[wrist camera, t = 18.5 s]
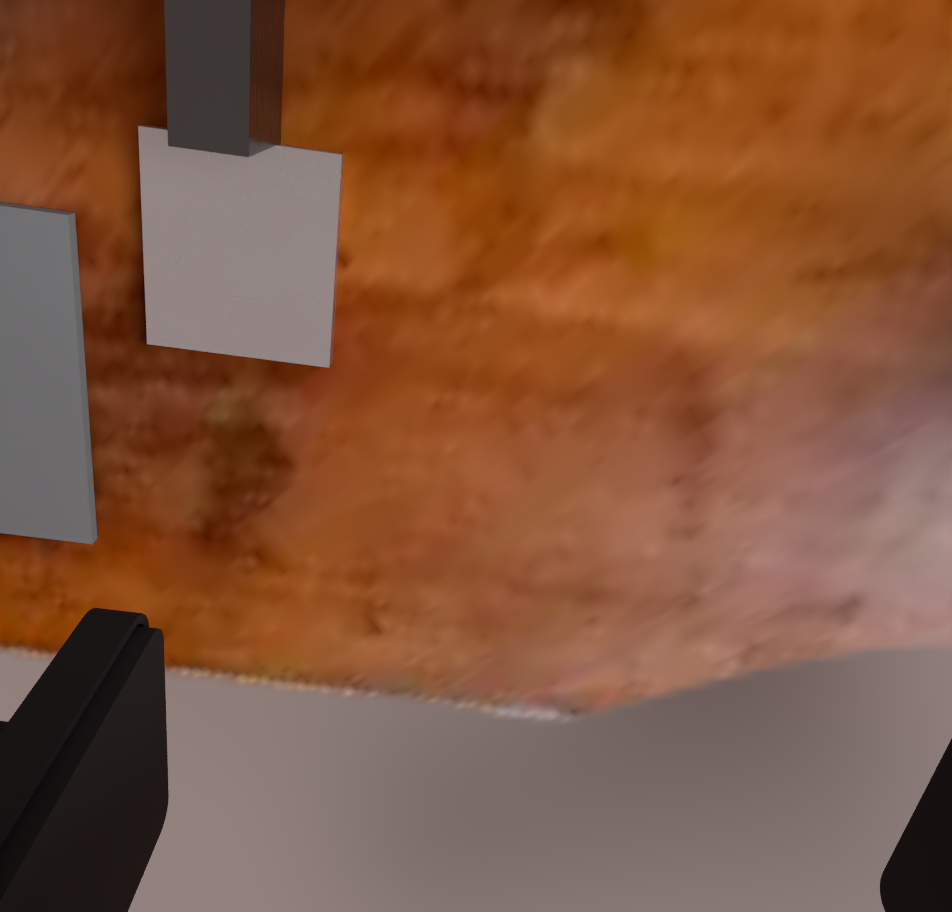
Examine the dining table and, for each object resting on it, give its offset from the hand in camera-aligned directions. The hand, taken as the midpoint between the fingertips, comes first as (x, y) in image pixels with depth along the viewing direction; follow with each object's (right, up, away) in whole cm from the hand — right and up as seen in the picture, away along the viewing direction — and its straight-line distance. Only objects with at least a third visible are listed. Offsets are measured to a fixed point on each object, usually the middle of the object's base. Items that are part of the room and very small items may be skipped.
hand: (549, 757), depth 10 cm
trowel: (-10, +17, +24) cm, 31 cm away
